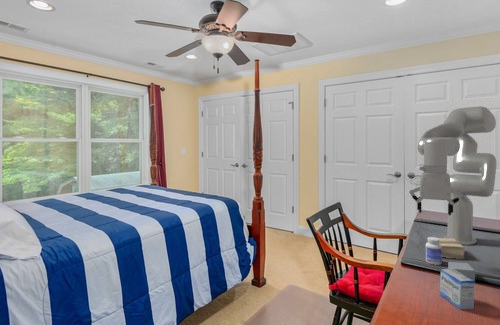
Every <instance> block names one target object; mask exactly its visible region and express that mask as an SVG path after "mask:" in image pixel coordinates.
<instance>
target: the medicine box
mask: <svg viewBox="0 0 500 325" xmlns="http://www.w3.org/2000/svg"><path fill="white" fill-rule="evenodd" d="M439 278H440V281H439V282H440V284H439V286H440V287H439V296H441V297H442V299H444V300H446V301H447V302H449V303H450V304H452V305H453V306H455V307H456V308H457V309H459V310H461V311H462V310H473V309H474V308H475V307H474V306H475V281H474V280H472V279H470V278H468V277H466V276H465V275H463V274H461V273H459V272H458V271H456V270H454V269H448V268H443V269H440V277H439Z"/></svg>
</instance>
